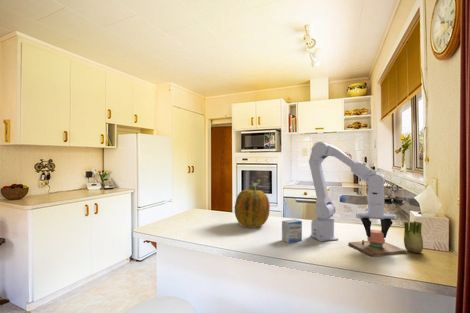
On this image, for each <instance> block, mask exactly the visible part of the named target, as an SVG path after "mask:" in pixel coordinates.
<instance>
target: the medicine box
mask: <svg viewBox="0 0 470 313" xmlns="http://www.w3.org/2000/svg"><path fill="white" fill-rule="evenodd" d="M281 240H282V241H283V242H286V243H287V244H290V243H294V242H295V243H296V242H300V241H302V240H303V221H302V220H300V219H296V218H295V219H289V220H282V221H281Z"/></svg>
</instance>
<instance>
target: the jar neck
mask: <svg viewBox="0 0 470 313" xmlns="http://www.w3.org/2000/svg"><path fill="white" fill-rule="evenodd" d="M369 245H370V246H371V247H374V248H383V244H376V243H372V242H369Z"/></svg>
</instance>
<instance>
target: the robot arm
mask: <svg viewBox="0 0 470 313" xmlns="http://www.w3.org/2000/svg"><path fill="white" fill-rule="evenodd" d="M328 157H334V158H336V159H338V160H339V161H340V162H342V163H343V164H345V165H346V166H348V167H349V169H350V172H351V173H352V174H354V175H355V176H357V177H358V178H359V179H360V180H362V181H364V182H366V185H367V186H368V189H367V190H368V191H367V212H355V218H356V219H360V221H361V222H362V225H363V227H364V230H365V234H366V237H370V236H371V233H370V229H372V228H371V226H372V220H374V219H375V220H380V225H381V226H380V227H381V231H382V232H383V233H384V239H386V237H387V234H388V232H389V230H390V228H391V226H392V225H393V222H394V221H397V220H398V215H396V214H393V213H392V214H391V213H385V186H384V185H385V183H386V180H385V177H384V176H383V175H382V174H381V173H378V172H377V170H375V169H372V168H371V167H369V166H368V165H367V163H366V162H365V161H355V160H354V159H352V158H351V157H350V156H349V155H347V153H345V152H343V150H341V149H339V148H337V147H336V146H334V145H332V144H331V143H328V142H326V143H325V142H323V141H318V142H316V143H315V144H314V145H313V146H312V147H311V152H310V156H309V160H308V164H309V168H310V173H311V176H312V182H313V186H314V191H315V195H316V201H315V215H316V216H317V217H316V218H313V219H312V220H311V222H310V223H311V227H310V228H311V232H310V233H311V234H310V236H311V237H312V238H314V239H315V240H318V241H319V242H323V241H325V242H326V241H327V242H328V241H334V240H335V241H337V240H339V237H336V236H335V217H334V215H335V213H336V206H335V205H334V204H333V202H332V199H331V197H330V196H329V192H328V189H327V184H326V180H325V175H324V171H323V166H322V163H323V162H324V160H325V159H326V158H328ZM371 219H372V220H371Z"/></svg>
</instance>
